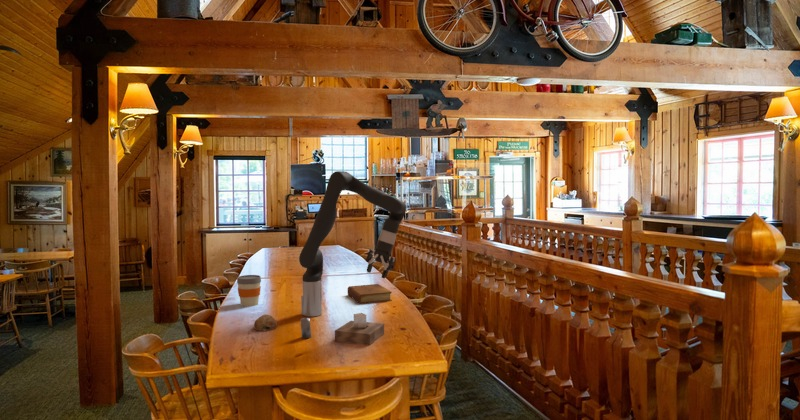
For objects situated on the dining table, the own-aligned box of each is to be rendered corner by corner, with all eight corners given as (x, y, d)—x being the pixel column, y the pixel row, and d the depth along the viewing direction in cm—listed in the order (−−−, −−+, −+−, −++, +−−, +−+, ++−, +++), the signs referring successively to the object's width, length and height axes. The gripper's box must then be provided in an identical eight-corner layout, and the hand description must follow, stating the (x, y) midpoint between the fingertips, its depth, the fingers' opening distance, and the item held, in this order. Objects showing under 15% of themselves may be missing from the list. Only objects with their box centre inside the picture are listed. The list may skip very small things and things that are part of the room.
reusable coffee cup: (257, 307, 275) (257, 279, 274) (234, 307, 276) (233, 279, 275) (264, 301, 288) (263, 274, 287) (241, 301, 288) (241, 274, 287)
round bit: (300, 338, 221) (299, 320, 220) (302, 335, 225) (301, 317, 224) (310, 338, 221) (308, 319, 220) (312, 335, 225) (310, 317, 224)
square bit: (353, 337, 223) (353, 314, 222) (362, 335, 225) (361, 312, 224) (358, 339, 219) (357, 316, 219) (366, 337, 221) (366, 314, 221)
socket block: (334, 341, 217) (334, 330, 217) (350, 330, 232) (350, 320, 232) (370, 345, 212) (370, 334, 211) (384, 333, 227) (384, 323, 226)
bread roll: (255, 339, 232) (257, 325, 229) (251, 324, 240) (252, 310, 237) (277, 336, 237) (279, 322, 233) (272, 321, 245) (274, 308, 241)
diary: (347, 296, 302) (347, 286, 302) (377, 293, 309) (377, 283, 309) (359, 304, 281) (359, 294, 281) (391, 301, 288) (391, 291, 288)
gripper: (369, 236, 238) (359, 270, 238) (394, 244, 230) (383, 279, 230) (378, 238, 244) (368, 271, 244) (403, 246, 236) (392, 280, 236)
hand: (375, 275), depth 237 cm, fingers open, 8 cm apart
